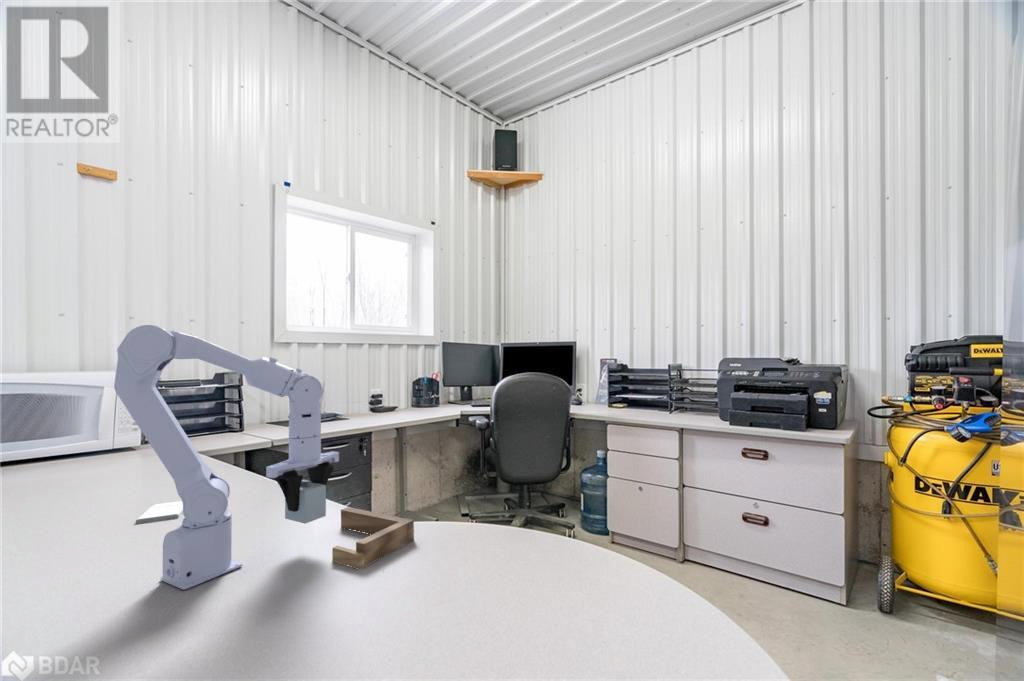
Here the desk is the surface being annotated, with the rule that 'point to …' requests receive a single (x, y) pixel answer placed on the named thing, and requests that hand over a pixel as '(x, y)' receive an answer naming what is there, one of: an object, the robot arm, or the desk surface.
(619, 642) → the desk surface
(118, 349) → the robot arm
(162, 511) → the external hard drive
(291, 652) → the desk surface
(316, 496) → the cabinet block
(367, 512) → the wooden frame
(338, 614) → the desk surface
